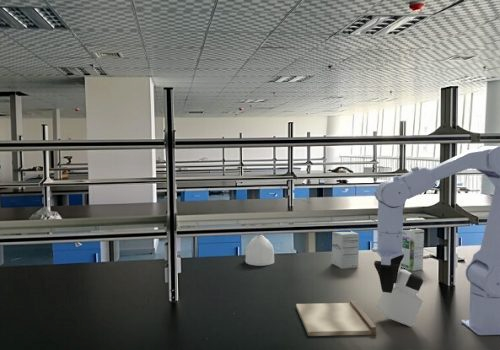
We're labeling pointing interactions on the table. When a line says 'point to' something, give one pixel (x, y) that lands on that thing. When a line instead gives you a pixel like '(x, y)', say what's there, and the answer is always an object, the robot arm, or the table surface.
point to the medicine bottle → (402, 298)
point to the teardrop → (259, 252)
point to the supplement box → (345, 249)
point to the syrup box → (412, 249)
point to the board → (335, 319)
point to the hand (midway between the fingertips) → (389, 287)
